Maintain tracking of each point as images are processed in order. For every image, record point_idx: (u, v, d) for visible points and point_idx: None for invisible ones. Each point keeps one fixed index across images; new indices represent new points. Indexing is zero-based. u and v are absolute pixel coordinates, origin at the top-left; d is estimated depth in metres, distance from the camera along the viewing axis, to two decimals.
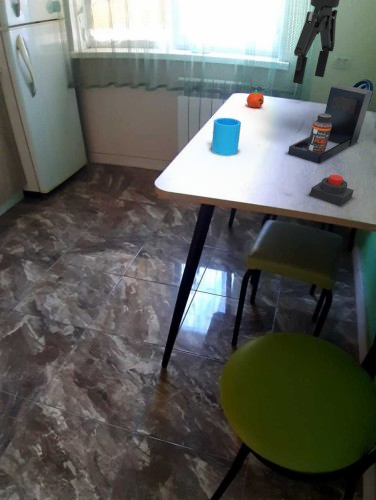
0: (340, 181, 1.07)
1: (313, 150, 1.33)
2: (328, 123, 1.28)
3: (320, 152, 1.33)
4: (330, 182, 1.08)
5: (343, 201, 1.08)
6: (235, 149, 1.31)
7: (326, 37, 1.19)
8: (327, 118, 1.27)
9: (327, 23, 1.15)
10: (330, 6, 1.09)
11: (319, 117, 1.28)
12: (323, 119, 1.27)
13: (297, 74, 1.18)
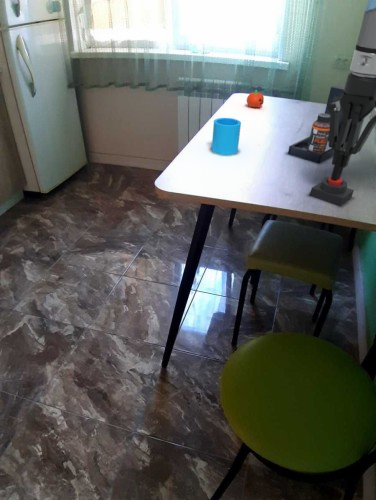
0: (339, 183, 1.07)
1: (313, 150, 1.33)
2: (328, 123, 1.28)
3: (320, 152, 1.33)
4: None
5: (343, 201, 1.08)
6: (235, 149, 1.31)
7: (347, 129, 1.01)
8: (327, 118, 1.27)
9: None
10: None
11: (319, 117, 1.28)
12: (323, 119, 1.27)
13: (339, 171, 1.06)
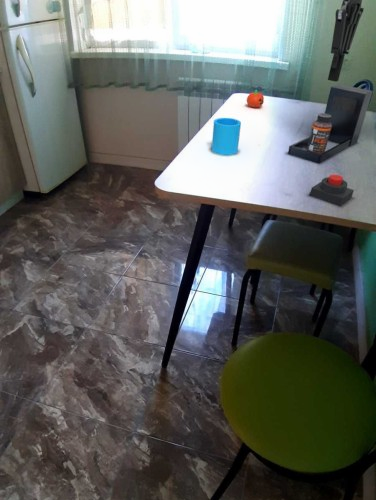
0: (340, 181, 1.07)
1: (313, 150, 1.33)
2: (328, 123, 1.28)
3: (320, 152, 1.33)
4: (330, 182, 1.08)
5: (343, 201, 1.08)
6: (235, 149, 1.31)
7: None
8: (327, 118, 1.27)
9: None
10: None
11: (319, 117, 1.28)
12: (323, 119, 1.27)
13: None
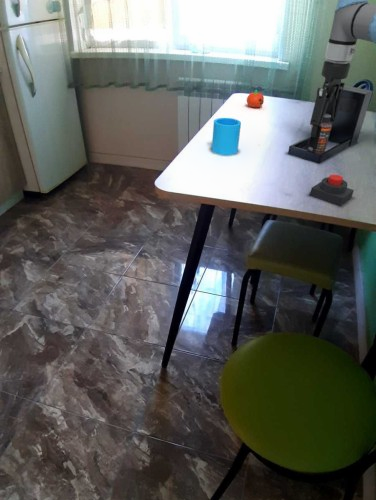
0: (340, 181, 1.07)
1: (313, 150, 1.33)
2: (328, 123, 1.28)
3: (320, 152, 1.33)
4: (330, 182, 1.08)
5: (343, 201, 1.08)
6: (235, 149, 1.31)
7: None
8: (327, 118, 1.27)
9: None
10: None
11: None
12: (323, 119, 1.27)
13: None
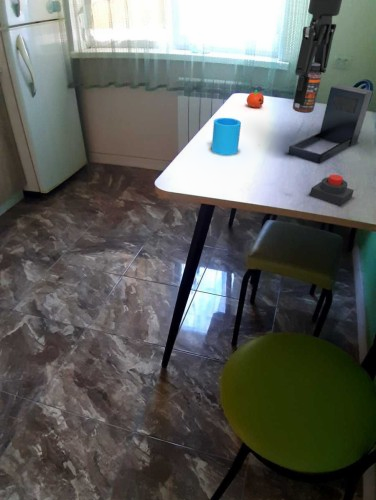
0: (340, 181, 1.07)
1: (300, 107, 1.13)
2: (317, 73, 1.08)
3: (308, 110, 1.14)
4: (330, 182, 1.08)
5: (343, 201, 1.08)
6: (235, 149, 1.31)
7: None
8: (316, 67, 1.07)
9: None
10: None
11: None
12: (311, 68, 1.08)
13: None
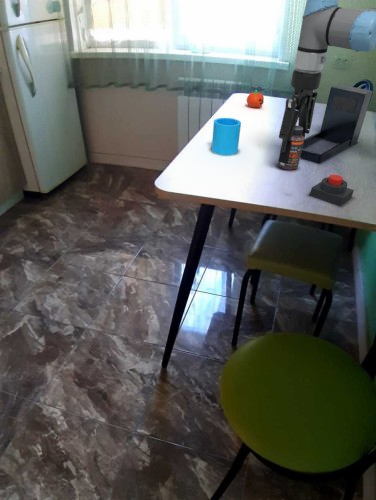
0: (340, 181, 1.07)
1: (285, 165, 1.23)
2: (300, 136, 1.18)
3: (292, 167, 1.23)
4: (330, 182, 1.08)
5: (343, 201, 1.08)
6: (235, 149, 1.31)
7: None
8: (298, 131, 1.17)
9: None
10: None
11: None
12: (294, 132, 1.17)
13: None
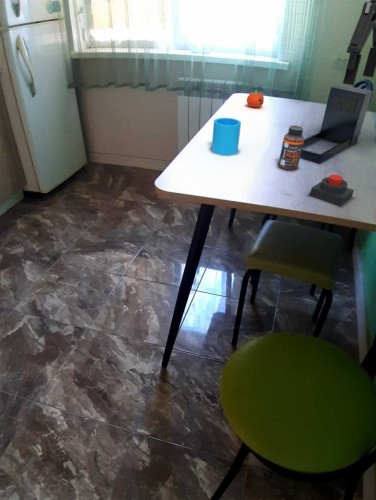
0: (340, 181, 1.07)
1: (285, 165, 1.23)
2: (300, 136, 1.18)
3: (292, 167, 1.23)
4: (330, 182, 1.08)
5: (343, 201, 1.08)
6: (235, 149, 1.31)
7: None
8: (298, 131, 1.17)
9: None
10: None
11: (290, 130, 1.17)
12: (294, 132, 1.17)
13: None
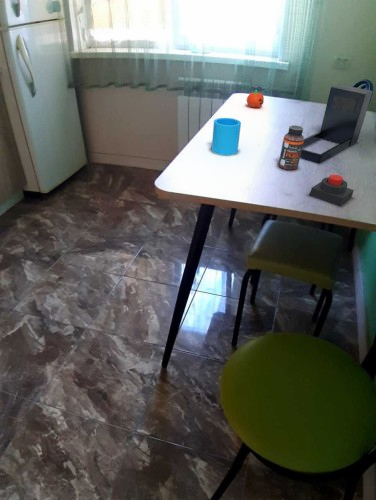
0: (340, 181, 1.07)
1: (285, 165, 1.23)
2: (300, 136, 1.18)
3: (292, 167, 1.23)
4: (330, 182, 1.08)
5: (343, 201, 1.08)
6: (235, 149, 1.31)
7: None
8: (298, 131, 1.17)
9: None
10: None
11: (290, 130, 1.17)
12: (294, 132, 1.17)
13: None
